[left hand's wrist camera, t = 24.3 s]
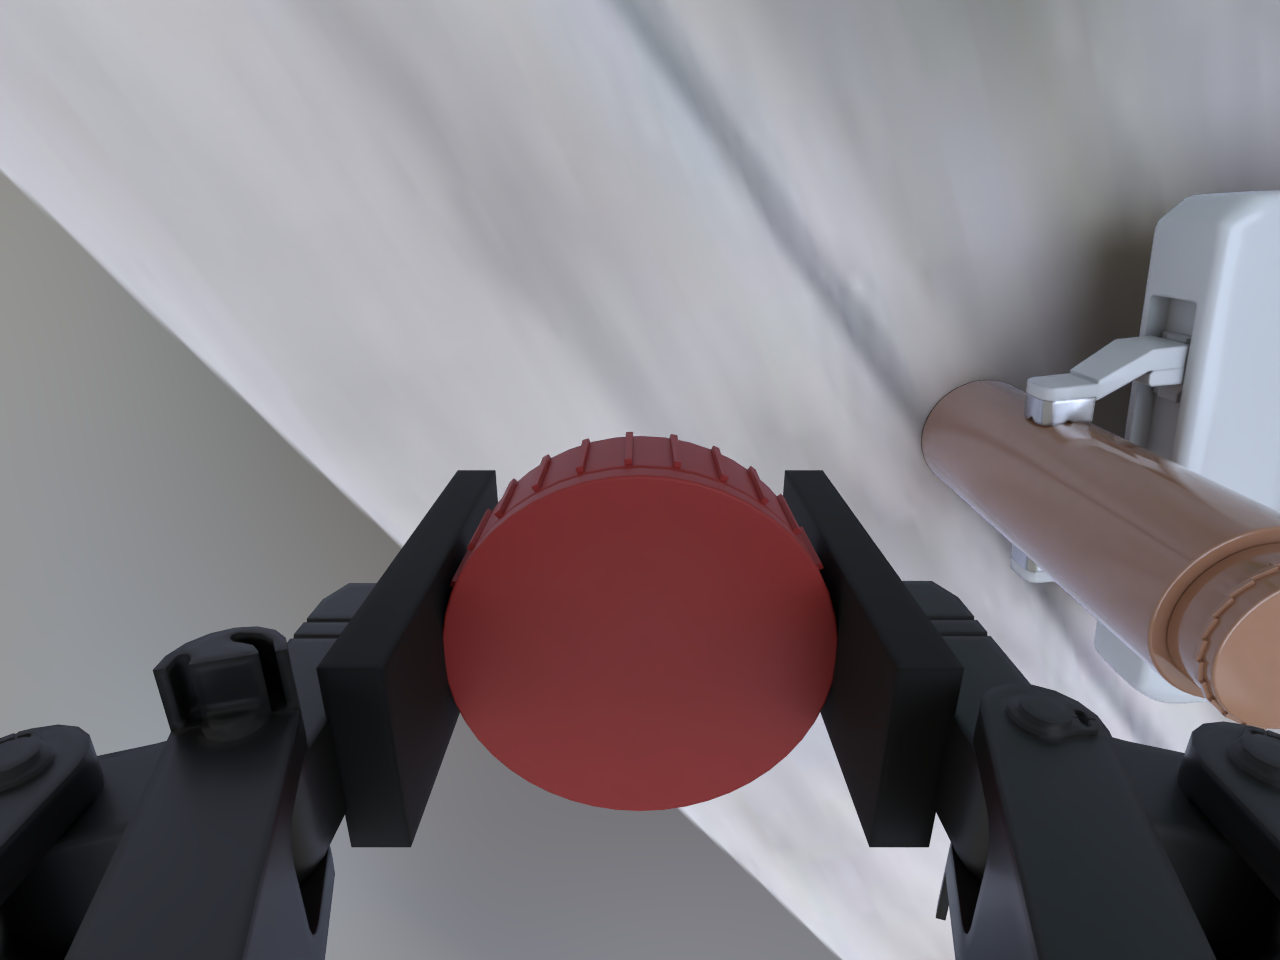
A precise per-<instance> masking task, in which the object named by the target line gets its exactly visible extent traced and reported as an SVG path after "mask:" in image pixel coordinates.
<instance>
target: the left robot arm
mask: <svg viewBox="0 0 1280 960" xmlns="http://www.w3.org/2000/svg"><path fill="white" fill-rule="evenodd" d="M783 497H784V498H785V500H786V502H787V504H788V506H789V508H790V510H791V512H792V514H793V516H794V518H795V520H796V522H797V523H798V525H799V527H801V526H802V527H803V529H804V531H805V532H806V534H807V536H808V538H809V540H810V542H811V544H812V546H813V548H814V550H815V552H816V554H817V555H818V557H819V559H820V561H821V563H822V565H823V569H821V570H819V571H820V573H821V576H822V578H823V580H824V582H825V585H826V587H827V589H828V591H829V594H830V597H831V600H832V605H833V608H834V612H835V616H836V624H837V634H838V640H837V650H836V659H835V667H834V675H833V682H832V685H831V687H830V690H829V693H828V696H827V699H826V701H825V704H824V705H823V707H822V709H821V711H820V712H821V715H822V718H823V720H824V723H825V726H826V729H827V731H828V734H829V737H830V740H831V742H832V745H833V748H834V751H835V753H836V756H837V759H838V762H839V764H840V767H841V770H842V773H843V775H844V778H845V781H846V784H847V786H848V789H849V792H850V795H851V797H852V800H853V803H854V806H855V808H856V811H857V814H858V817H859V819H860V822H861V825H862V828H863V831H864V833H865V836H866V839H867V842H868V844H869V847H929V844H930V839H931V834H932V829H933V824H934V819H935V814H936V813H937V815H938V817H939V819H940V821H941V823H942V825H943V827H944V829H945V831H946V833H947V835H948V837H949V839H950V841H951V844H950V848H949V853H948V858H947V862H946V867H945V872H944V877H943V881H942V886H941V891H940V895H939V900H938V906H937V913H936V918H938V919H942V920H946V915H947V911H948V906H949V909H950V917H951V926H952V934H953V942H954V951H955V959H956V960H1280V734H1277V733H1275V732H1272V731H1269V730H1268V731H1266V730H1264V729H1262V728H1258V727H1254V726H1250V725H1243V724H1236V723H1230V722H1215V723H1206V724H1202V725H1201V726H1200V727H1198V728H1197V729H1195V730H1194V731H1193V732H1192V734H1191V737H1190V740H1189V743H1188V746H1187V748H1186V751H1185V753H1181V752H1176V751H1171V750H1167V749H1162V748H1157V747H1152V746H1147V745H1143V744H1138V743H1133V742H1128V741H1124V740H1120V739H1117V738H1113V737H1112V736H1111V734H1110V732H1109V730H1108V729H1107V728H1106V726H1105V725H1104V724H1103V722H1102V721H1101V720H1100V718H1099V717H1098V716H1097V715H1096V714H1094V713H1093V712H1092V711H1090V710H1089V709H1088V708H1086V707H1085V706H1084V705H1082V704H1081V703H1079V702H1078V701H1076V700H1074V699H1072V698H1069V697H1067V696H1065V695H1063V694H1061V693H1059V692H1057V691H1054V690H1050V689H1046V688H1043V687H1039V686H1035V685H1031V684H1030V683H1029V682H1028V680H1027V679H1026V678H1025V677H1024V676H1023V674H1022V673H1021V672H1020V671H1019V670H1018V668H1017V667H1016V666H1015V665H1014V664H1013V662H1012V661H1011V660H1010V659H1009V658H1008V656H1007V655H1006V654H1005V653H1004V652H1003V650H1002V649H1001V648H1000V647H999V646H998V645H997V643H996V642H995V641H994V640H993V639H992V637H991V636H987V631H986V630H985V629H984V628H983V627H982V625H981V624H980V623H979V622H978V621H977V620H974V616H973V615H972V613H971V612H970V611H969V610H968V609H967V607H966V606H965V605H964V604H963V603H962V601H961V600H960V599H959V598H958V597H957V596H955V595H954V594H952V593H950V592H949V591H947V590H946V589H944V588H942V587H941V586H939V585H937V584H936V583H934V582H933V581H902V580H901V579H900V578H899V576H898V575H897V573H896V572H895V571H894V569H893V568H892V567H891V565H890V564H889V562H888V561H887V560H886V558H885V557H884V555H883V554H882V553H881V551H880V550H879V548H878V547H877V546H876V544H875V543H874V541H873V540H872V539H871V537H870V536H869V534H868V533H867V532H866V530H865V529H864V527H863V526H862V525H861V523H860V522H859V521H858V519H857V518H856V516H855V515H854V514H853V512H852V511H851V509H850V508H849V507H848V505H847V504H846V502H845V501H844V500H843V498H842V497H841V495H840V494H839V493H838V491H837V490H836V488H835V487H834V486H833V484H832V483H831V481H830V480H829V479H828V477H827V476H826V475H825V473H824V472H823V470H785V478H784V491H783ZM497 503H498V498H497V485H496V473H495V470H458V471H457V472H456V474H455V475H454V477H453V478H452V479H451V481H450V482H449V484H448V485H447V486H446V488H445V489H444V490H443V492H442V493H441V495H440V496H439V497H438V499H437V500H436V502H435V503H434V504H433V506H432V507H431V509H430V510H429V511H428V513H427V514H426V516H425V517H424V518H423V520H422V521H421V523H420V524H419V525H418V527H417V528H416V530H415V531H414V532H413V534H412V535H411V536H410V538H409V539H408V541H407V542H406V543H405V545H404V546H403V548H402V549H401V550H400V552H399V553H398V555H397V556H396V557H395V559H394V560H393V562H392V563H391V564H390V566H389V567H388V569H387V570H386V571H385V573H384V574H383V576H382V577H381V578H380V580H379V581H378V582H377V583H349V584H347V585H345V586H344V587H342V588H341V589H339V590H337V591H336V592H334V593H333V594H331V595H329V596H328V597H326V598H325V599H323V600H322V601H321V602H320V604H319V605H318V606H317V607H316V608H315V610H314V611H313V612H312V613H311V614H310V616H309V617H308V618H307V622H304V623H303V624H302V625H301V627H300V628H299V629H298V630H297V631H296V633H295V634H294V638H293V639H290V640H289V641H288V642H286V638H285V637H284V636H283V635H281V634H280V633H279V632H277V631H276V630H273V629H268V628H263V627H239V628H232V629H228V630H223V631H219V632H214V633H210V634H208V635H205V636H203V637H200V638H198V639H195V640H193V641H190V642H188V643H185V644H184V645H182V646H181V647H179V648H177V649H176V650H174V651H173V652H171V653H170V654H168V655H166V656H165V657H164V658H163V659H162V661H161V662H160V663H159V664H158V665H157V666H156V667H155V668H154V669H153V673H154V676H155V679H156V683H157V686H158V689H159V693H160V696H161V699H162V703H163V706H164V709H165V713H166V716H167V719H168V723H169V726H170V729H171V733H170V735H169V737H168V740H167V741H165V742H161V743H157V744H153V745H148V746H143V747H138V748H134V749H129V750H124V751H119V752H114V753H110V754H105V755H100V756H97V755H96V752H95V750H94V747H93V744H92V741H91V738H90V735H89V734H88V733H86V732H85V731H83V730H82V729H81V728H79V727H76V726H66V725H53V726H46V727H39V728H32V729H28V730H24V731H20V732H18V733H16V734H14V733H13V734H10V735H8V736H5V737H2V738H0V960H325V953H326V944H327V936H328V927H329V919H330V911H331V902H332V893H333V885H334V876H335V871H334V864H333V858H332V853H331V848H330V843H331V841H332V839H333V837H334V835H335V833H336V831H337V829H338V827H339V825H340V823H341V821H342V819H343V817H344V815H345V816H346V822H347V827H348V832H349V837H350V842H351V847H411V845H412V843H413V840H414V837H415V834H416V832H417V829H418V826H419V823H420V821H421V818H422V815H423V812H424V810H425V807H426V804H427V801H428V799H429V796H430V793H431V790H432V788H433V785H434V782H435V779H436V777H437V774H438V771H439V768H440V766H441V763H442V760H443V757H444V755H445V752H446V749H447V746H448V744H449V741H450V738H451V735H452V733H453V730H454V727H455V724H456V722H457V719H458V716H459V713H460V711H459V709H458V707H457V705H456V703H455V701H454V698H453V695H452V693H451V690H450V687H449V684H448V679H447V671H446V663H445V655H444V645H443V625H444V617H445V612H446V608H447V605H448V601H449V598H450V594H451V591H452V589H453V587H450V584H451V581H452V579H453V577H454V575H455V573H456V571H457V569H458V567H459V565H460V564H461V562H462V560H463V558H464V556H465V554H466V552H467V550H468V549H467V547H468V545H469V543H470V541H471V539H472V537H473V535H474V533H475V531H476V529H477V527H478V526H479V524H480V522H481V520H482V518H483V516H484V514H485V512H486V511H487V509H490V510H491V511H493V510H494V508H495V507H496V505H497Z"/></svg>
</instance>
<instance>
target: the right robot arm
mask: <svg viewBox="0 0 1280 960" xmlns="http://www.w3.org/2000/svg"><path fill="white" fill-rule="evenodd" d="M1131 381H1133V382H1132V388H1131V395H1130V402H1129V409H1128V416H1127V422H1126V429H1125V436H1124V439H1126V440H1128V441H1130V442H1132V443H1134V444H1137V445H1139V446H1141V447H1143V448H1145V449H1147V450H1149V451H1151V452H1153V453H1156V454H1158V455H1160V456H1162V457H1164V458H1166V459H1168V460H1170V461H1173V462H1175V463H1177V464H1179V465H1181V466H1183V467H1185V468H1187V469H1190V470H1192V471H1194V472H1196V473H1198V474H1200V475H1202V476H1204V477H1206V478H1209V479H1211V480H1213V481H1215V482H1217V483H1219V484H1221V485H1223V486H1226V487H1228V488H1230V489H1232V490H1234V491H1236V492H1238V493H1240V494H1243V495H1245V496H1247V497H1249V498H1251V499H1253V500H1255V501H1257V502H1259V503H1262V504H1264V505H1266V506H1268V507H1270V508H1272V509H1274V510H1276V511H1279V512H1280V190H1267V191H1245V192H1228V193H1210V194H1199V195H1192V196H1189V197H1187V198H1185V199H1184V200H1183V201H1182V202H1180V203H1179V204H1178V205H1177V206H1175V207H1174V208H1173V209H1172V210H1170V211H1169V212H1168V213H1167V214H1166V215H1165V216H1163V217H1162V218H1161V219H1160V220H1159V221H1158V223H1157V225H1156V228H1155V233H1154V238H1153V245H1152V252H1151V259H1150V266H1149V273H1148V279H1147V286H1146V293H1145V300H1144V307H1143V313H1142V320H1141V327H1140V334H1139V337H1130V338H1122V339H1115V340H1114V341H1112V342H1111V343H1109V344H1108V345H1106V346H1105V347H1103V348H1102V349H1100V350H1099V351H1097V352H1096V353H1094V354H1093V355H1091V356H1090V357H1088V358H1087V359H1085V360H1084V361H1082V362H1081V363H1079V364H1078V365H1076V366H1075V367H1074V368H1072V369H1071V370H1070V373H1065V374H1056V375H1047V376H1038V377H1032V378H1028V380H1027V388H1026V399H1025V411H1024V416H1025V417H1026V418H1028V419H1030V418H1033V420H1034V422H1035V423H1037V424H1040V425H1046V426H1056V425H1061V424H1064V423H1065V422H1067V421H1070V422H1072V423H1086V422H1092V419H1093V413H1094V407H1095V401H1097V400H1099V399H1101V398H1103V397H1104V396H1106V395H1108V394H1110V393H1112V392H1113V391H1115V390H1117V389H1119V388H1120V387H1122V386H1124V385H1126V384H1127V383H1129V382H1131ZM1010 567H1011V569H1013V570H1014V571H1015V572H1016V573H1017V574H1018V575H1019V576H1020V577H1021V578H1022V579H1023V580H1025V581H1028V582H1032V583H1044V582H1054V580H1053V579H1051V578H1050V577H1049V576H1048V575H1047V574H1046V573H1045V572H1044V571H1043V570H1041V569H1040V568H1039V567H1038V566H1037V565H1036V564H1035V563H1034V562H1033V561H1031V560H1030V559H1029V558H1028V557H1027V556H1026V555H1025V554H1024V553H1022V552H1021V551H1020V550H1019V549H1018V548H1017V547H1016V546H1015V545H1014V544H1012V551H1011V561H1010ZM1094 646H1095V649H1096V651H1097V652H1098V654H1099V655H1100V656H1101V657H1102V658H1103V659H1104V660H1105V661H1106V662H1107V663H1108V664H1109V665H1110V666H1111V667H1112V669H1113V670H1114V671H1115V672H1116V673H1117V674H1119V675H1120V676H1121V677H1122V678H1123V679H1124V680H1125V681H1126V682H1127V683H1129V684H1130V685H1131V686H1132V687H1133V688H1135V689H1136V690H1137V691H1139V692H1141V693H1142V694H1144V695H1146V696H1147V697H1149V698H1151V699H1153V700H1156V701H1159V702H1163V703H1196V702H1209V701H1208V700H1207V699H1206V698H1201V697H1197V696H1193V695H1190V694H1188V693H1185V692H1183V691H1180V690H1178V689H1177V688H1175V687H1173V686H1172V685H1170V684H1169V683H1168V682H1167V681H1166V680H1164V679H1163V678H1162V677H1161V676H1160V675H1159V674H1158V673H1156V672H1155V671H1154V670H1153V669H1152V668H1151V667H1150V666H1149V665H1148V664H1146V663H1145V662H1144V661H1143V660H1142V659H1141V658H1140V657H1139V656H1137V655H1136V654H1135V653H1134V652H1133V651H1132V650H1131V649H1130V648H1129V647H1127V646H1126V645H1125V644H1124V643H1123V642H1122V641H1121V640H1120V639H1118V638H1117V637H1116V636H1115V635H1114V634H1113V633H1112V632H1111V631H1110V630H1108V629H1107V628H1106V627H1105V626H1104V625H1103V624H1102V623H1101V622H1099V621H1098V620H1097V626H1096V632H1095V638H1094Z"/></svg>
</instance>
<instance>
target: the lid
mask: <svg viewBox="0 0 1280 960" xmlns="http://www.w3.org/2000/svg"><path fill="white" fill-rule="evenodd" d="M467 549H468V550H467V552H466V554H465V556H464V558H463V560H462V562H461V564H460V565H459V567H458V569H457V571H456V573H455V575H454V577H453V579H452V581H451V584H450V587H453V589H452V591H451V594H450V598H449V601H448V605H447V608H446V612H445V617H444V625H443V645H444V655H445V663H446V671H447V679H448V684H449V687H450V690H451V693H452V695H453V698H454V701H455V703H456V705H457V707H458V709H459V711H460V713H461V715H462V716H463V718H464V720H465V722H466V723H467V725H468V726H469V727H470V729H471V730H472V732H473V733H474V734H475V736H476V737H477V739H478V740H479V741H480V742H481V743H482V744H483V745H484V746H485V747H486V748H487V749H488V751H489V752H490V753H491V754H492V755H493V756H494V757H496V758H497V759H498V760H499V761H500V762H502V763H503V764H504V765H505V766H506V767H508V768H509V769H510V770H512V771H513V772H515V773H516V774H518V775H519V776H521V777H522V778H524V779H525V780H527V781H528V782H530V783H532V784H534V785H536V786H538V787H540V788H542V789H544V790H546V791H548V792H550V793H553V794H556V795H558V796H561V797H564V798H566V799H569V800H572V801H576V802H580V803H583V804H587V805H591V806H596V807H603V808H609V809H615V810H633V811H647V810H665V809H671V808H678V807H685V806H689V805H693V804H697V803H701V802H705V801H709V800H711V799H714V798H717V797H719V796H722V795H725V794H728V793H730V792H732V791H734V790H736V789H738V788H740V787H742V786H744V785H746V784H748V783H750V782H752V781H753V780H755V779H756V778H758V777H760V776H761V775H763V774H764V773H766V772H767V771H769V770H770V769H771V768H773V767H774V766H775V765H776V764H777V763H779V762H780V761H781V760H782V759H783V758H785V757H786V756H787V755H788V754H789V753H790V752H791V751H792V750H793V749H794V748H795V746H796V745H797V744H798V743H799V742H800V741H801V740H802V739H803V737H804V736H805V735H806V733H807V732H808V731H809V729H810V728H811V726H812V725H813V724H814V722H815V720H816V719H817V717H818V715H819V713H820V711H821V709H822V707H823V705H824V704H825V701H826V699H827V696H828V693H829V690H830V687H831V685H832V682H833V675H834V667H835V659H836V650H837V640H838V634H837V624H836V616H835V612H834V608H833V605H832V600H831V597H830V594H829V591H828V589H827V587H826V585H825V582H824V580H823V578H822V576H821V573H820V571H819V570H821V569H823V565H822V563H821V561H820V559H819V557H818V555H817V554H816V552H815V550H814V548H813V546H812V544H811V542H810V540H809V538H808V536H807V534H806V532H805V531H804V529H803V527H802V526H801V527H799V525H798V523H797V522H796V520H795V518H794V516H793V514H792V512H791V510H790V508H789V506H788V504H787V502H786V500H785V498H784V497H783V496H782V494H780V495H778V496H776V495H775V494H774V493H773V492H772V491H771V489H770V488H769V487H768V486H767V485H766V484H764V483H763V482H762V481H761V480H760V479H759V476H758V474H757V472H756V470H755V469H754V468H753V467H751V466H750V467H749V469H748V470H747V469H746V468H744V467H743V466H741V465H740V464H738V463H736V462H735V461H733V460H732V459H730V458H728V457H725V456H723V455H721V453H720V450H719V448H717V447H715V446H713V447H712V449H708V448H705V447H702V446H699V445H696V444H692V443H689V442H685V441H680V440H678V437H677V435H673V434H671V435H670V439H669V438H663V437H647V436H633V432H626V437H616V438H611V439H606V440H600V441H595V442H591V443H590V440H589V439H585V440H583V441H582V445H581V446H579V447H575V448H572V449H569V450H567V451H565V452H563V453H561V454H559V455H557V456H555V457H552V458H550V456H549V455H546V456H545V457H543V459H542V461H541V464H540V465H539V466H538V467H536V468H534V469H533V470H531V471H530V472H528V473H527V474H526V475H525V476H524V477H523V478H522V479H520V480H519V481H518V482H517V481H516V480H515V479H513V480H512V481H511V482H510V483H509V485H508V487H507V489H506V491H505V493H504V495H503V497H502V499H501V500H500V501H499V502H498V503H497V505H496V507H495V508H494V510H493V511H491V510H490V509H487V511H486V512H485V514H484V516H483V518H482V520H481V522H480V524H479V526H478V527H477V529H476V531H475V533H474V535H473V537H472V539H471V541H470V543H469V545H468V547H467Z"/></svg>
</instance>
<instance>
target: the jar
mask: <svg viewBox="0 0 1280 960" xmlns="http://www.w3.org/2000/svg"><path fill="white" fill-rule="evenodd" d="M1025 399H1026V392H1024V391H1022V390H1020V389H1018V388H1016V387H1014V386H1011V385H1009V384H1007V383H1004V382H1000V381H994V380H982V381H975V382H971V383H968V384H965V385H963V386H961V387H959V388H957V389H955V390H953V391H952V392H950V393H949V394H947V395H946V396H945V397H944V398H942V399H941V400H940V401H939V403H938V404H937V405H936V406H935V407H934V409H933V410H932V411H931V413H930V415H929V416H928V418H927V421H926V423H925V426H924V429H923V434H922V451H923V455H924V458H925V461H926V463H927V465H928V466H929V468H930V469H931V470H932V471H933V473H934V474H935V475H936V476H938V477H939V478H940V479H941V480H942V481H943V482H944V483H945V484H947V485H948V486H949V487H950V488H951V489H952V490H953V491H954V492H955V493H957V494H958V495H959V496H960V497H961V498H962V499H963V500H964V501H966V502H967V503H968V504H969V505H970V506H971V507H972V508H973V509H974V510H976V511H977V512H978V513H979V514H980V515H981V516H982V517H983V518H984V519H986V520H987V521H988V522H989V523H990V524H991V525H992V526H993V527H995V528H996V529H997V530H998V531H999V532H1000V533H1001V534H1002V535H1003V536H1005V537H1006V538H1007V539H1008V540H1009V541H1010V542H1011V543H1012V544H1014V545H1015V546H1016V547H1017V548H1018V549H1019V550H1020V551H1021V552H1022V553H1024V554H1025V555H1026V556H1027V557H1028V558H1029V559H1030V560H1031V561H1033V562H1034V563H1035V564H1036V565H1037V566H1038V567H1039V568H1040V569H1041V570H1043V571H1044V572H1045V573H1046V574H1047V575H1048V576H1049V577H1050V578H1051V579H1053V580H1054V581H1055V582H1056V583H1057V584H1058V585H1059V586H1060V587H1062V588H1063V589H1064V590H1065V591H1066V592H1067V593H1068V594H1069V595H1070V596H1072V597H1073V598H1074V599H1075V600H1076V601H1077V602H1078V603H1079V604H1081V605H1082V606H1083V607H1084V608H1085V609H1086V610H1087V611H1088V612H1089V613H1091V614H1092V615H1093V616H1094V617H1095V618H1096V619H1097V620H1098V621H1099V622H1101V623H1102V624H1103V625H1104V626H1105V627H1106V628H1107V629H1108V630H1110V631H1111V632H1112V633H1113V634H1114V635H1115V636H1116V637H1117V638H1118V639H1120V640H1121V641H1122V642H1123V643H1124V644H1125V645H1126V646H1127V647H1129V648H1130V649H1131V650H1132V651H1133V652H1134V653H1135V654H1136V655H1137V656H1139V657H1140V658H1141V659H1142V660H1143V661H1144V662H1145V663H1146V664H1148V665H1149V666H1150V667H1151V668H1152V669H1153V670H1154V671H1155V672H1156V673H1158V674H1159V675H1160V676H1161V677H1162V678H1163V679H1164V680H1166V681H1167V682H1168V683H1169V684H1170V685H1172V686H1173V687H1175V688H1177V689H1178V690H1180V691H1183V692H1185V693H1188V694H1190V695H1193V696H1197V697H1201V698H1206V699H1207V700H1208V701H1209V702H1210V703H1211V704H1212V705H1213V706H1214V707H1215V708H1216V709H1217V710H1218V711H1219V712H1220V713H1221V714H1222V715H1224V716H1225V717H1227V718H1229V719H1231V720H1234V721H1236V722H1238V723H1240V724H1243V725H1250V726H1254V727H1258V728H1262V729H1267V728H1269V729H1280V512H1279V511H1276V510H1274V509H1272V508H1270V507H1268V506H1266V505H1264V504H1262V503H1259V502H1257V501H1255V500H1253V499H1251V498H1249V497H1247V496H1245V495H1243V494H1240V493H1238V492H1236V491H1234V490H1232V489H1230V488H1228V487H1226V486H1223V485H1221V484H1219V483H1217V482H1215V481H1213V480H1211V479H1209V478H1206V477H1204V476H1202V475H1200V474H1198V473H1196V472H1194V471H1192V470H1190V469H1187V468H1185V467H1183V466H1181V465H1179V464H1177V463H1175V462H1173V461H1170V460H1168V459H1166V458H1164V457H1162V456H1160V455H1158V454H1156V453H1153V452H1151V451H1149V450H1147V449H1145V448H1143V447H1141V446H1139V445H1137V444H1134V443H1132V442H1130V441H1128V440H1126V439H1124V438H1122V437H1120V436H1117V435H1115V434H1113V433H1111V432H1109V431H1107V430H1105V429H1103V428H1100V427H1098V426H1096V425H1094V424H1092V423H1090V422H1086V423H1072V422H1070V421H1067V422H1065V423H1064V424H1061V425H1056V426H1046V425H1040V424H1037V423H1035V422H1034V420H1033V418H1030V419H1028V418H1026V417H1025V416H1024V411H1025Z"/></svg>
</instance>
